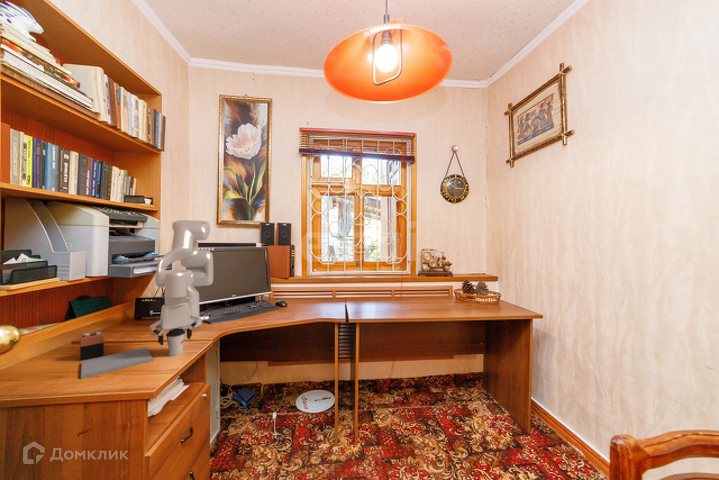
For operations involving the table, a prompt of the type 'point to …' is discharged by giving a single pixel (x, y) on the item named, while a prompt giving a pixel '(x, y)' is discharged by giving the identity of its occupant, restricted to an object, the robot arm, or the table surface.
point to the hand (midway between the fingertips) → (175, 341)
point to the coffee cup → (175, 341)
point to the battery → (91, 345)
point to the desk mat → (115, 362)
